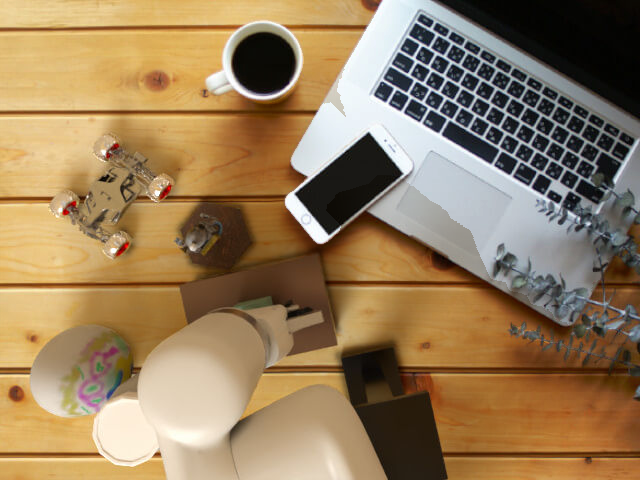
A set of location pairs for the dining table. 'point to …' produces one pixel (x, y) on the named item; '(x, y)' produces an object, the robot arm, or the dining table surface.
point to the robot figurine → (215, 236)
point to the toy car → (112, 195)
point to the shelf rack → (269, 280)
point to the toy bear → (255, 303)
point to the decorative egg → (80, 370)
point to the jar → (124, 428)
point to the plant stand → (394, 416)
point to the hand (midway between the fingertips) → (253, 321)
